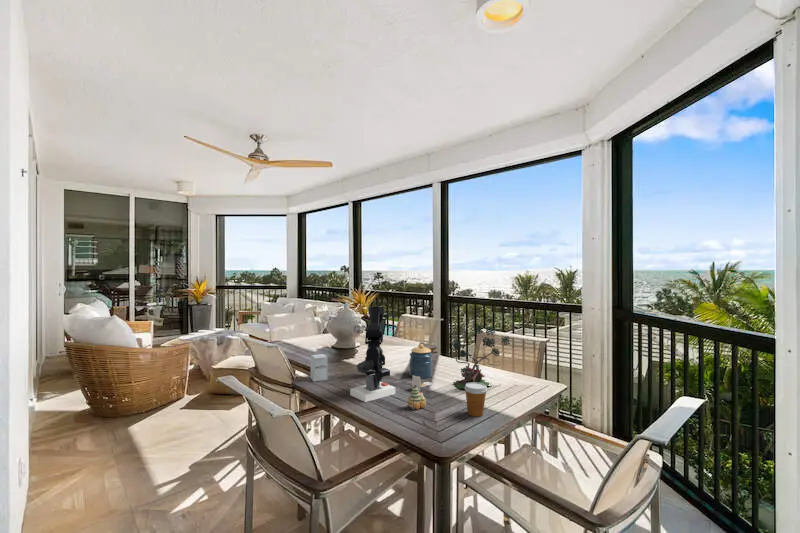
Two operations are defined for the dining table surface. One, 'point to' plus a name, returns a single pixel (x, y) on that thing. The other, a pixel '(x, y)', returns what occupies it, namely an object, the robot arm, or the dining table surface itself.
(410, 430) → the dining table surface
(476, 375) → the bonsai tree
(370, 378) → the plug
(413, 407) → the ornament
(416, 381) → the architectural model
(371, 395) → the socket
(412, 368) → the canister
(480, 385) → the disposable coffee cup
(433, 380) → the dining table surface
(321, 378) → the supplement box
